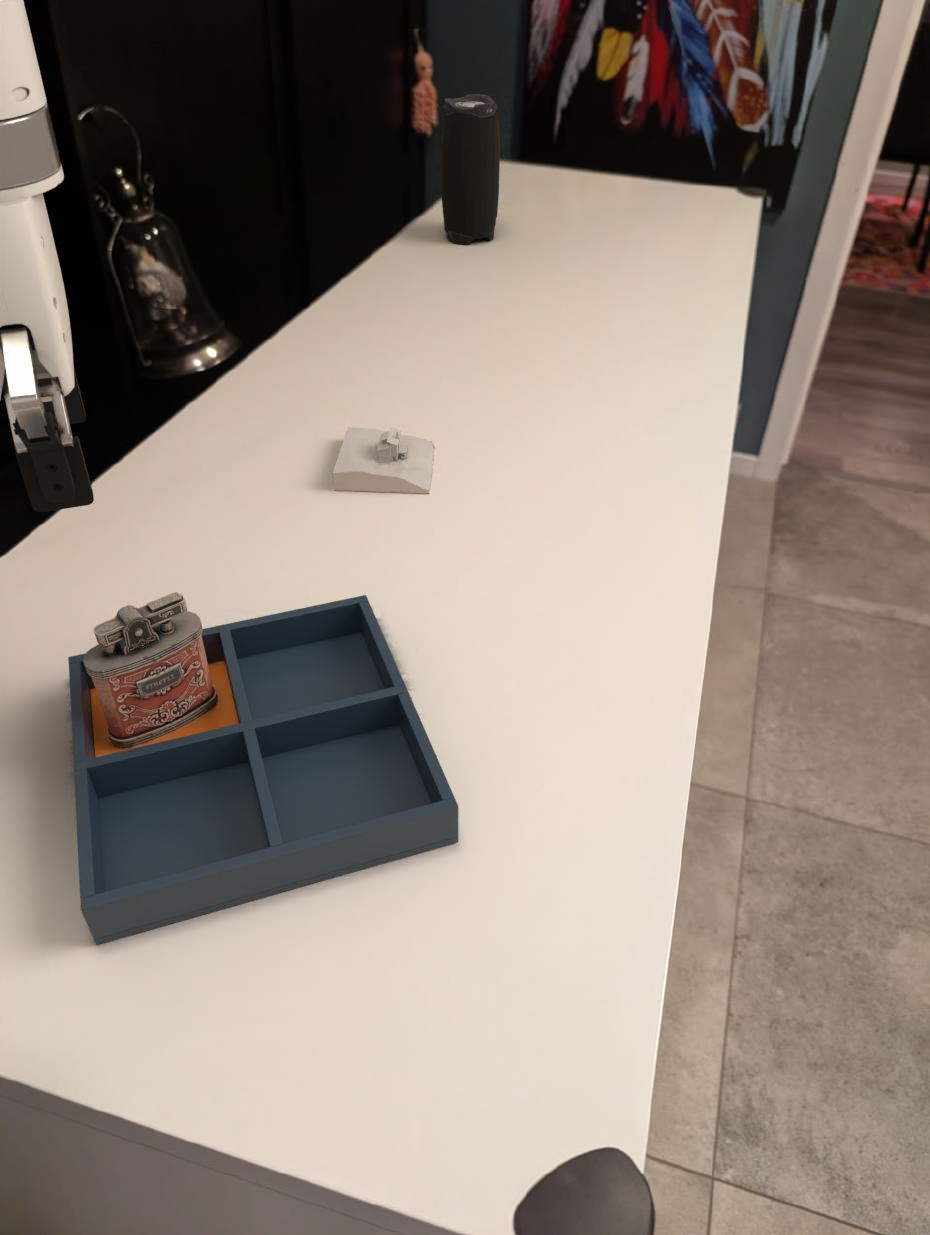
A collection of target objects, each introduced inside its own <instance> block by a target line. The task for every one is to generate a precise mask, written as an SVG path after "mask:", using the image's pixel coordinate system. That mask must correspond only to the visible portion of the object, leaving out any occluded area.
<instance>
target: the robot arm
mask: <svg viewBox="0 0 930 1235" xmlns="http://www.w3.org/2000/svg"><path fill="white" fill-rule="evenodd" d="M42 78H43V77H42V75H41V70H40V66H39V62H38V58H37V53H36V49H35V44H34V40H33V35H32V32H31V27H30V23H29V19H28V14H27V10H26V6H25V1H24V0H0V400H1V398H2V393H3V398H4V400H5V406H6V410H7V415H8V420H9V424H10V430H11V434H12V439H13V451H14V454H15V458H16V461H17V464H18V467H19V471H20V473H21V476H22V480H23V482H24V486H25V489H26V492H27V495H28V499H29V501H30V504H31V508H32V510H34V511H35V512H36V513H46V512H53V511H59V510H65V509H72V508H79V507H84V506H89V505H91V504H93V503H94V501H95V497H94V496H95V495H94V490H93V486H92V484H91V480H90V476H89V472H88V469H87V468H88V467H87V465H86V462H85V461H86V460H85V457H84V453H83V449H82V445H81V442H80V438H79V435H75V436H73V433H72V429H71V425H76V424H77V425H78V424H82V423H85V421H86V419H87V415H86V414H87V413H86V409H85V404H84V402H83V398H82V393H81V389H80V387H79V382H78V379H77V375H76V370H75V366H74V352H73V351H74V350H73V339H72V338H73V337H72V329H71V321H70V312H69V307H68V301H67V295H66V290H65V284H64V279H63V274H62V270H61V266H60V264H61V263H60V261H59V257H58V252H57V247H56V243H55V240H54V239H55V238H54V235H53V230H52V226H51V222H50V218H49V214H48V209H47V206H46V205H47V204H46V202H45V197H44V193H46V192H49V191H50V190H52V189H55V188H56V187H58V186H59V185H60V184H61V183H63V181H64V179H65V174H64V169H63V166H62V161H61V157H60V152H59V148H58V143H57V140H56V139H57V138H56V135H55V131H54V127H53V122H52V118H51V113H50V109H49V105H48V103H47V100H48V99H47V96H46V91H45V88H44V84H43V83H44V82H43V79H42Z"/></svg>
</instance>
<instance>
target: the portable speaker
mask: <svg viewBox="0 0 930 1235" xmlns="http://www.w3.org/2000/svg"><path fill="white" fill-rule="evenodd" d="M498 110H499V109H498V103H497V102H495V101H494V100H493V98H492V97H491V96H490V95H486V94H483V93H482V94H480V93H473V94H472V93H471V94H466V95H464V96H460V97H456V98H451V97H446V98H444V104H443V111H444V112H443V121H442V127H441V128H442V129H441V136H440V197H441V208H442V216H443V227H444V228H443V229H444V231H445V234H446V237H447V240H448V241H450V242H452V243H454V244H459V245H465V246H466V245H467V246H469V245H470V244H472V242H473V241H474V240H479V239H484V238H485V239H486V240H487V241H493V240H494V238H495V230H496V229H495V227H496V223H497V218H498V210H499V196H500V195H499V194H500V167H501V166H500V165H501V163H500V162H501V135H500V122H499V121H500V120H499V111H498Z"/></svg>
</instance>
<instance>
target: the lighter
mask: <svg viewBox="0 0 930 1235" xmlns="http://www.w3.org/2000/svg"><path fill="white" fill-rule="evenodd" d="M202 629H203V624H202V620H201V617H200V616H199V615H198V614H196V613H195V612H192V611H188V606H187V602H186V598H185V596H184V595H183V594H182V593H181V592H178V591H174V592H171V593H168V594H167V595H164V596H162V597H159V598H157V599H154V600H152V601H149V602H147V603H146V604H145V605H142V606H140V607H135V606H134V605H131V604H129V605H125V606H123V607H120V609H119V610H118V611H117V613H116V615H115V616H114V617H113V618H111V619H109V620H106V621H104V622H101V623H99V624H97V625H95V626H94V627H93V629H92V630H93V633H94V636H95V639H96V642H97V645H95V646H93V647H92V648H90V649H89V650H87V651H86V652H85V653H86V654H85V653H84V654H85V655H84V659H83V662H84V665H85V668H86V670H87V673H88V674H89V675H90V676H91V677H92V680H93V683H94V685H95V688H96V691H97V694H98V697H99V700H100V703H101V706H102V709H103V712H104V715H105V718H106V721H107V724H108V726H107V733H108V736H109V739H110V741H111V744H112V745H113V746H114V747H116V748H119V749H131V748H134V747H137V746H140V745H143V744H146V743H149V742H152V741H155V740H157V739H159V738H162V737H164V736H166V735H169V734H171V733H173V732H176V731H177V730H179V729H181V728H183V727H185V726H187V725H188V724H190V723H192V722H194V721H196V720H197V719H199V718H200V717H202V716H203V715H205V714H206V713H208V712H209V711H211V710H212V709H213V708H214V707H216V705H217V703H218V695H217V691H216V688H215V686H214V685H213V684H212V680H211V676H210V671H209V667H208V662H207V658H206V654H205V649H204V645H203V640H202V636H201V634H202Z"/></svg>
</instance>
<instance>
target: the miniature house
mask: <svg viewBox="0 0 930 1235" xmlns="http://www.w3.org/2000/svg"><path fill="white" fill-rule="evenodd" d="M401 433H402V430H400V429H397V428H395V427H392V426H390V427H389V431H385V430H381V429H375V428H368V427H353V426H348V427H347V429H346V431H345V434H344V437H343V440H342V444H341V447H340V449H339V453H338V455H337V458H336V461H335V465H334V468H333V470H332V474H331V475H332V483H333V490H334V491H339V492H341V491H342V492H343V491H344V492H345V491H346V492H369V493H371V492H372V493H398V494H399V493H402V494H424V495H426V494H430V489H431V484H432V479H433V478H432V477H433V465H434V464H433V462H435V461H434V460H435V449H436V447H435V445H434V442H433V441H432V440H429V439H425V438H420V437H417V436H414V435H409V434H401Z"/></svg>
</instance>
